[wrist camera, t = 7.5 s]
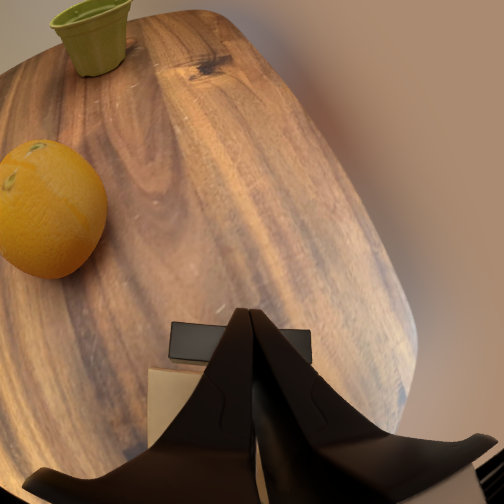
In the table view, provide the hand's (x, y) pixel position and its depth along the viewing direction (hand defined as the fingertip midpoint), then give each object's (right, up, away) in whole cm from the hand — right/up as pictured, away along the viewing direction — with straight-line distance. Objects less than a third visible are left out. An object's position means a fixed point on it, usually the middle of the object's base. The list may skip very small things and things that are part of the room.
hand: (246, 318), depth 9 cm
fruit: (-13, +4, +8) cm, 16 cm away
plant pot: (-18, +24, +14) cm, 33 cm away
